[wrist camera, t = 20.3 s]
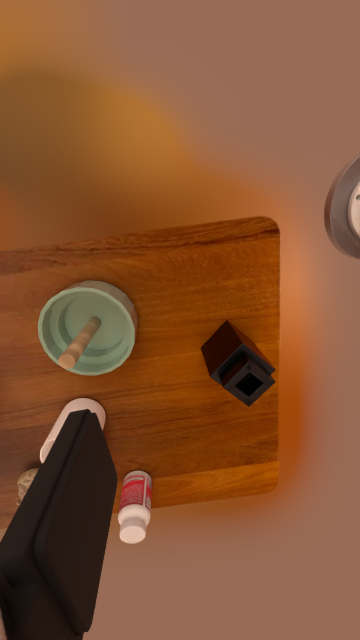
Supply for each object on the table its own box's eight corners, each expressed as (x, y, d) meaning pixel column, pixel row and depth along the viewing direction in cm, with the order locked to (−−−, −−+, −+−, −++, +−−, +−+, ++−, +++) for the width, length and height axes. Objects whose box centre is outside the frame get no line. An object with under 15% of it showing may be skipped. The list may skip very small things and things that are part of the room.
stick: (93, 314, 44) (64, 351, 31) (103, 321, 44) (78, 360, 31) (87, 323, 44) (54, 363, 31) (96, 330, 45) (69, 372, 32)
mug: (125, 432, 53) (116, 478, 43) (91, 449, 54) (75, 498, 44) (90, 389, 49) (72, 428, 39) (54, 408, 50) (28, 451, 40)
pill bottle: (118, 481, 57) (108, 537, 47) (135, 464, 56) (129, 518, 46) (140, 494, 59) (135, 551, 48) (157, 478, 58) (156, 533, 47)
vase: (226, 319, 46) (249, 352, 34) (253, 342, 48) (284, 381, 36) (200, 347, 48) (213, 388, 36) (227, 368, 50) (249, 414, 37)
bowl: (85, 261, 42) (72, 266, 36) (154, 315, 45) (153, 327, 40) (37, 326, 45) (19, 340, 39) (106, 371, 48) (99, 390, 43)
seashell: (80, 477, 60) (80, 463, 53) (73, 515, 55) (72, 504, 48) (27, 476, 57) (20, 461, 51) (14, 516, 52) (5, 505, 46)
